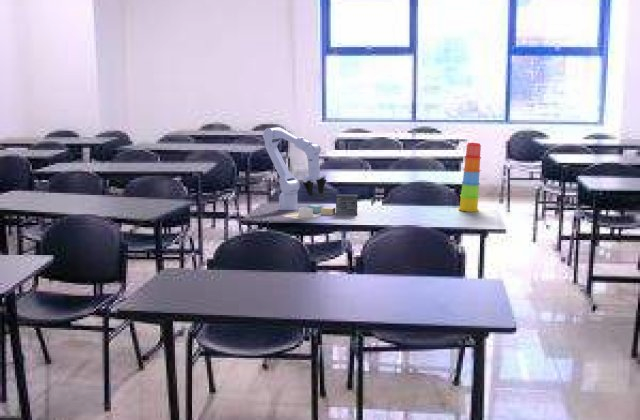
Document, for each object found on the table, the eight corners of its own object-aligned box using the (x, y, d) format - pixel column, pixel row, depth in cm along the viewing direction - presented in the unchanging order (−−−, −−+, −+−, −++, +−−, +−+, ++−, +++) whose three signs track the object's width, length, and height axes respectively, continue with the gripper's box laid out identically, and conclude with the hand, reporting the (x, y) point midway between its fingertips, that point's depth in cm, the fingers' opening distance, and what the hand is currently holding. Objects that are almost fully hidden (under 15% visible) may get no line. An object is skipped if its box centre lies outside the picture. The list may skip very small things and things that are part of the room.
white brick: (298, 216, 360) (298, 208, 359) (304, 215, 363) (304, 207, 362) (307, 217, 356) (307, 209, 355) (312, 216, 359) (312, 208, 358)
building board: (279, 217, 362) (279, 215, 362) (300, 212, 372) (299, 211, 372) (302, 221, 351) (302, 220, 351) (322, 217, 361) (322, 215, 361)
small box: (357, 214, 368) (357, 194, 366) (356, 217, 361) (357, 196, 359) (336, 214, 369) (336, 193, 367) (335, 216, 363) (335, 196, 360)
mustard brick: (321, 216, 365) (321, 208, 364) (324, 214, 369) (324, 206, 368) (332, 217, 363) (332, 209, 362) (335, 215, 366) (335, 207, 366)
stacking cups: (471, 207, 384) (474, 141, 377) (482, 211, 375) (485, 143, 368) (454, 209, 381) (456, 142, 374) (465, 212, 371) (467, 144, 364)
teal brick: (308, 213, 372) (308, 205, 372) (313, 212, 375) (313, 204, 374) (316, 214, 368) (316, 207, 368) (322, 213, 371) (322, 205, 370)
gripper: (309, 169, 360) (311, 197, 362) (329, 166, 370) (331, 192, 372) (299, 169, 364) (301, 196, 367) (319, 166, 375) (321, 192, 377)
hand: (315, 194), depth 370 cm, fingers open, 7 cm apart
